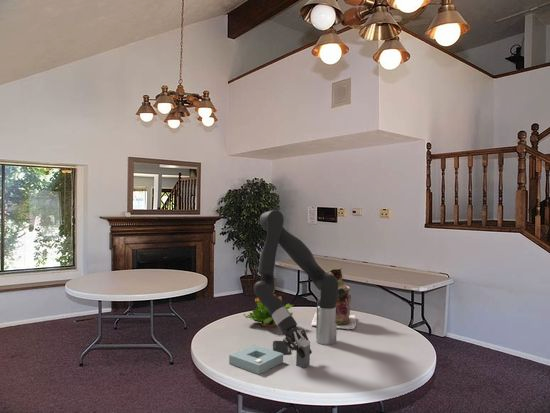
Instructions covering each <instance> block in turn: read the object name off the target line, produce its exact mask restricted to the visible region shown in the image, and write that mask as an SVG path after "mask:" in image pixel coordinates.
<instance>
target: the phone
mask: <svg viewBox="0 0 550 413" xmlns="http://www.w3.org/2000/svg"><path fill="white" fill-rule="evenodd" d="M272 350H273V351H277V352H280V353H283V355H290V354H291V349H290V348H289V347H288V346H287V345H286V344H285V343H284V341H283V340H273V341H272Z"/></svg>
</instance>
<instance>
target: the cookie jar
mask: <svg viewBox="0 0 550 413" xmlns="http://www.w3.org/2000/svg"><path fill="white" fill-rule="evenodd" d="M326 273H328V274H331V275H333V276H335V277H336V278H337V280H338V285H339V288H338V300H337V303H336V324H337V329H341V330H342V329H344V330H349V329H352V330H354V329H355V328H356V326H357V325H356V324H357V322H356V315H355V314H351V302H352V297H351V294H349V291H351V287H350V286H348V285H346V284H345V283H344V282H343V280H342V278H343V274H342V273H343V272H342V266H340V268H332V269H330V270H328V271H327V272H326ZM320 297H321V290H319V299H320ZM319 299H318V300H319ZM316 324H317V312H315V313H314V316H313V318H312V321H311V327H313V326H314V327H316Z"/></svg>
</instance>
